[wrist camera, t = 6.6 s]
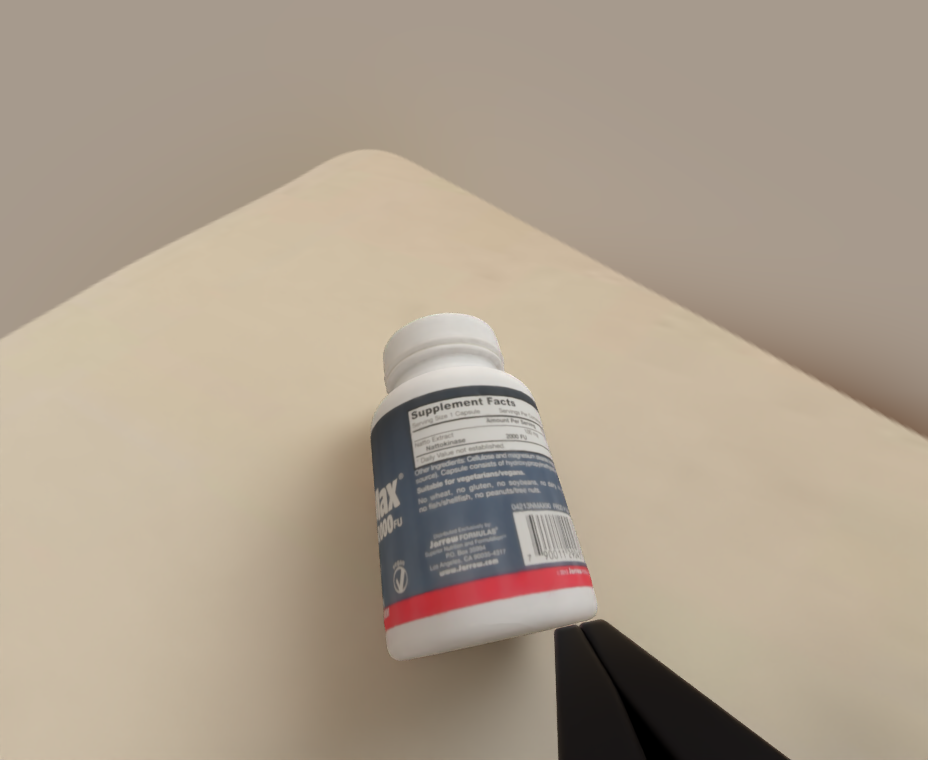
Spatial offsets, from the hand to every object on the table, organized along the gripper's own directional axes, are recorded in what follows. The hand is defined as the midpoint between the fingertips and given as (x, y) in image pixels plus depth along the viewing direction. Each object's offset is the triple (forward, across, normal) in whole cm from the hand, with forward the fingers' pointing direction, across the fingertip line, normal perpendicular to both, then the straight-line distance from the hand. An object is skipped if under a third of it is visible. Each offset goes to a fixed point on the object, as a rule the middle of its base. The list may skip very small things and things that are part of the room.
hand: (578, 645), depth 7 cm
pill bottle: (+3, +1, +3) cm, 4 cm away
